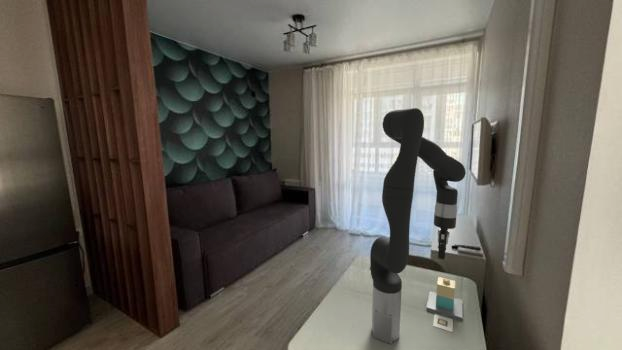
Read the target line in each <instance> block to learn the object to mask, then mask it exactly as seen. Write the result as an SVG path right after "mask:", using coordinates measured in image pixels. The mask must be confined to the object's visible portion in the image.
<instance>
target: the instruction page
mask: <svg viewBox="0 0 622 350" xmlns="http://www.w3.org/2000/svg"><path fill="white" fill-rule="evenodd" d="M453 320H454V318H451V317H447V316H444V315H441V314H438V313H435V314H434V317H433V324H432V327H434V328H438V329H442V330H443V331H447V332H450V333H453V329H454V328H453V326H454V325H453V322H454V321H453Z"/></svg>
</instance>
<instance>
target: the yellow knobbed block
mask: <svg viewBox="0 0 622 350" xmlns="http://www.w3.org/2000/svg"><path fill="white" fill-rule="evenodd" d="M455 292H456V280H453V279H449V278H445V277H441V276H438V278H437V283H436V293H437V295H439V296H443V297H446V298H450V299H454V298H455Z"/></svg>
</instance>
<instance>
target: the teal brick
mask: <svg viewBox="0 0 622 350" xmlns="http://www.w3.org/2000/svg"><path fill="white" fill-rule="evenodd" d="M436 306H439V307H443V308H446V309H450V310H453V307H454V299H450V298H446V297H443V296H439V295H437V294H436Z"/></svg>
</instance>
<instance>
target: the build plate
mask: <svg viewBox="0 0 622 350" xmlns="http://www.w3.org/2000/svg"><path fill="white" fill-rule="evenodd" d="M436 294H437V292H436V291H435V292H434V291H431V290H429V293H428V298H427V302H426V303H427V304H426V311H428V312H431V313H435V314H437V315H440V316H443V317H447V318H450V319H453V320H458V321H462V322H463V319H464V317H463V299H461V298H457V297H454V307H453V310H450V309H446V308H443V307H439V306H436Z"/></svg>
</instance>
